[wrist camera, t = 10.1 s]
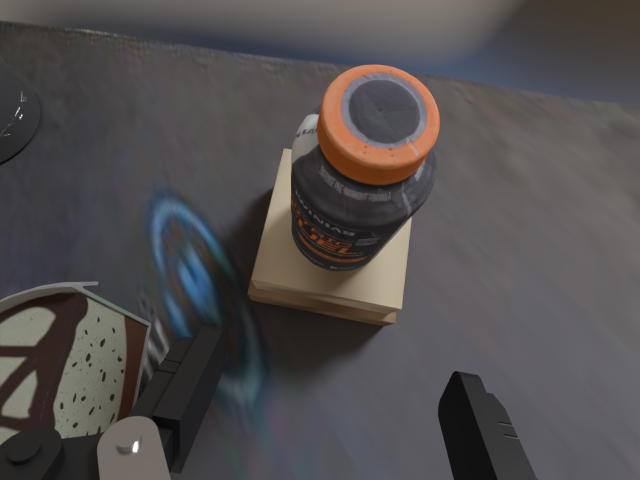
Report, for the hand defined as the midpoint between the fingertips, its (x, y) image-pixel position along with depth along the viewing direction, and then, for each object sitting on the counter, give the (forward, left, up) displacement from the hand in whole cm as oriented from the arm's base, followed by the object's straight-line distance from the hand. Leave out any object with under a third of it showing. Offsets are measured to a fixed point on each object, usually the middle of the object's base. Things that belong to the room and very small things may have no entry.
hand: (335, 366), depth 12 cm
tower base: (0, +8, -14) cm, 16 cm away
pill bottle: (0, +8, -8) cm, 11 cm away
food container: (-14, -5, -14) cm, 20 cm away
